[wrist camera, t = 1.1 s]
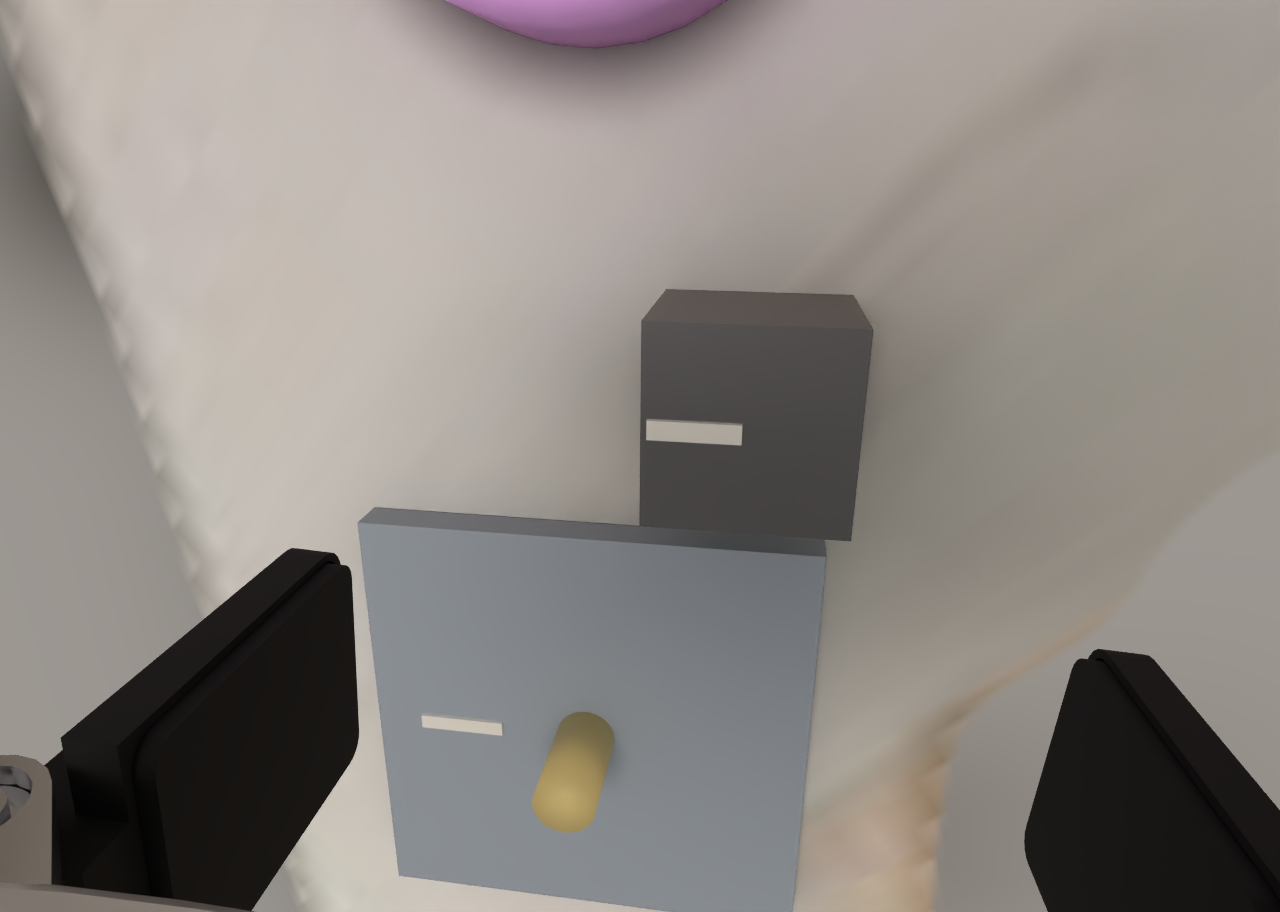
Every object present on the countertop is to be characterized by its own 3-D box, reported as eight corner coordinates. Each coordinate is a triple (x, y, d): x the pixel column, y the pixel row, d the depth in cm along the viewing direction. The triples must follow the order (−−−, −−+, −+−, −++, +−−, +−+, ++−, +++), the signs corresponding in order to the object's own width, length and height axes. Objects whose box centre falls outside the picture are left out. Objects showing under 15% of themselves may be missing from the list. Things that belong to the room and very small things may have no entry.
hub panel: (823, 539, 31) (834, 614, 26) (790, 899, 38) (793, 1016, 32) (374, 507, 34) (303, 570, 29) (411, 850, 40) (359, 952, 35)
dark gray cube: (852, 295, 28) (873, 330, 22) (835, 470, 30) (851, 544, 25) (666, 289, 29) (640, 321, 23) (663, 460, 31) (638, 528, 25)
